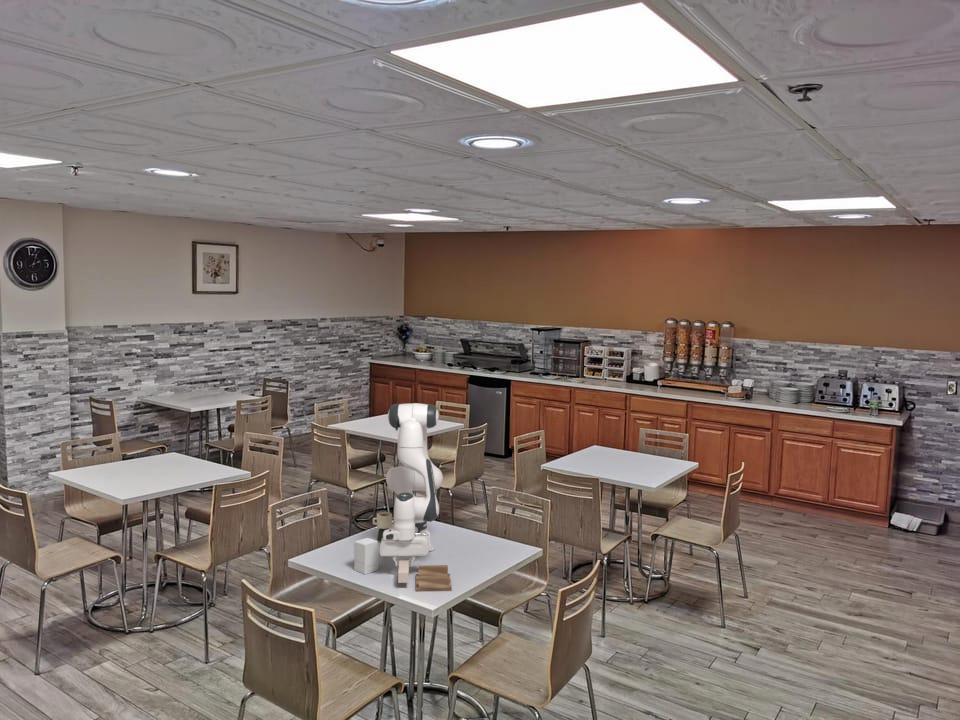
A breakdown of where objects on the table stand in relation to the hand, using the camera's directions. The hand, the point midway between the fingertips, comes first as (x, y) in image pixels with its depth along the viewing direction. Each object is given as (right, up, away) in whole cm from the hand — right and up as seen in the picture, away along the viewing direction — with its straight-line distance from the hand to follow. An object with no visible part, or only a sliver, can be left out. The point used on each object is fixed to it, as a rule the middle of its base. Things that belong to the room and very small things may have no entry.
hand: (403, 565), depth 293 cm
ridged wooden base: (+13, -5, -6) cm, 15 cm away
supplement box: (-17, -4, +7) cm, 19 cm away
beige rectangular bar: (0, -2, -5) cm, 5 cm away
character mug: (-14, -1, +45) cm, 47 cm away
